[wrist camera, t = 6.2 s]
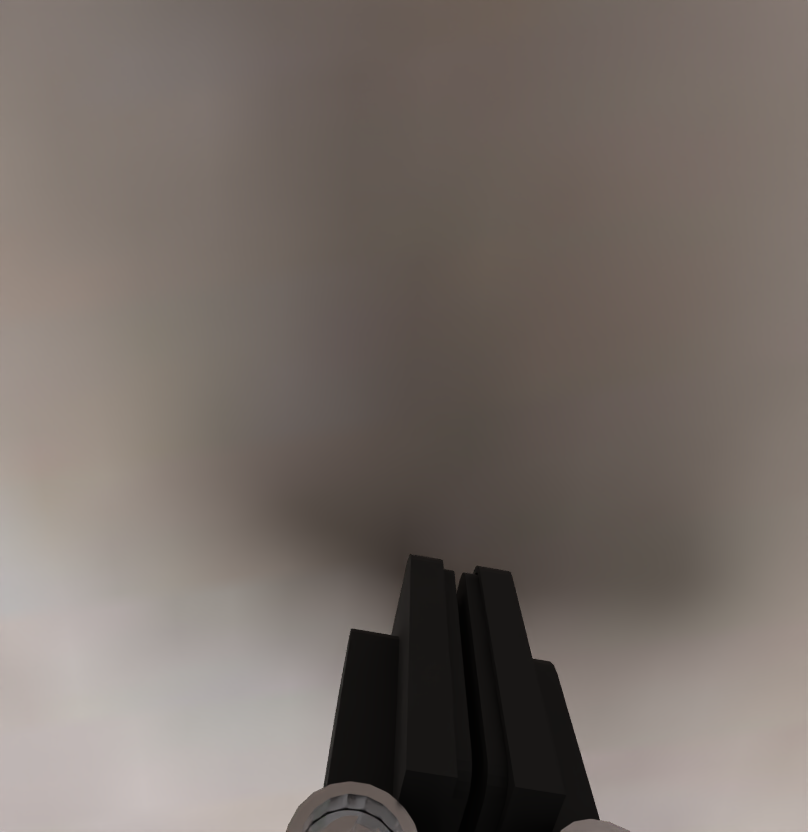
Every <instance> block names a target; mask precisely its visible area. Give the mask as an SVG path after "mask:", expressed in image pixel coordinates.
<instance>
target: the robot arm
mask: <svg viewBox="0 0 808 832" xmlns="http://www.w3.org/2000/svg"><path fill="white" fill-rule="evenodd" d="M286 832H630V831H629V830H626V829H624V828H622V827H620V826H617V825H615V824H613V823H611V822H607V821H601V820H600V819H599V815H598V812H597V808H596V805H595V802H594V798H593V795H592V791H591V788H590V784H589V781H588V778H587V774H586V771H585V767H584V764H583V760H582V757H581V754H580V750H579V747H578V743H577V740H576V736H575V733H574V729H573V726H572V723H571V719H570V716H569V712H568V709H567V705H566V702H565V699H564V695H563V692H562V688H561V685H560V681H559V678H558V675H557V672H556V669H555V667H554V665H553V664H552V663H551V662H550V661H544V660H538V659H532V655H531V651H530V647H529V643H528V638H527V634H526V630H525V626H524V622H523V618H522V614H521V610H520V606H519V602H518V598H517V594H516V590H515V586H514V582H513V578H512V575H511V572H509V571H505V570H499V569H493V568H487V567H481V566H476V567H475V569H474V572H473V574H470V573H462V576H461V578H460V582H459V586H458V590H457V594H456V583H455V574H454V571H452V570H446V569H444V567H443V560H441V559H435V558H429V557H423V556H417V555H412V554H410V555H409V558H408V561H407V565H406V570H405V575H404V579H403V584H402V588H401V593H400V598H399V602H398V607H397V612H396V616H395V621H394V625H393V630H392V635H387V634H381V633H375V632H369V631H363V630H357V629H351V631H350V636H349V641H348V646H347V652H346V657H345V662H344V668H343V673H342V679H341V684H340V690H339V696H338V701H337V707H336V713H335V719H334V725H333V731H332V738H331V744H330V750H329V756H328V762H327V768H326V775H325V781H324V787H323V788H322V789H320V790H318V791H316V792H313V793H312V794H311V795H310V796H309V797H308V798H307V799H306V800H305V801H304V802H303V803H302V804H300V805H299V806H298V808H297V810H296V812H295V814H294V815H293V817H292V819H291V821H290V823H289V824H288V827H287V830H286Z"/></svg>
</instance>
